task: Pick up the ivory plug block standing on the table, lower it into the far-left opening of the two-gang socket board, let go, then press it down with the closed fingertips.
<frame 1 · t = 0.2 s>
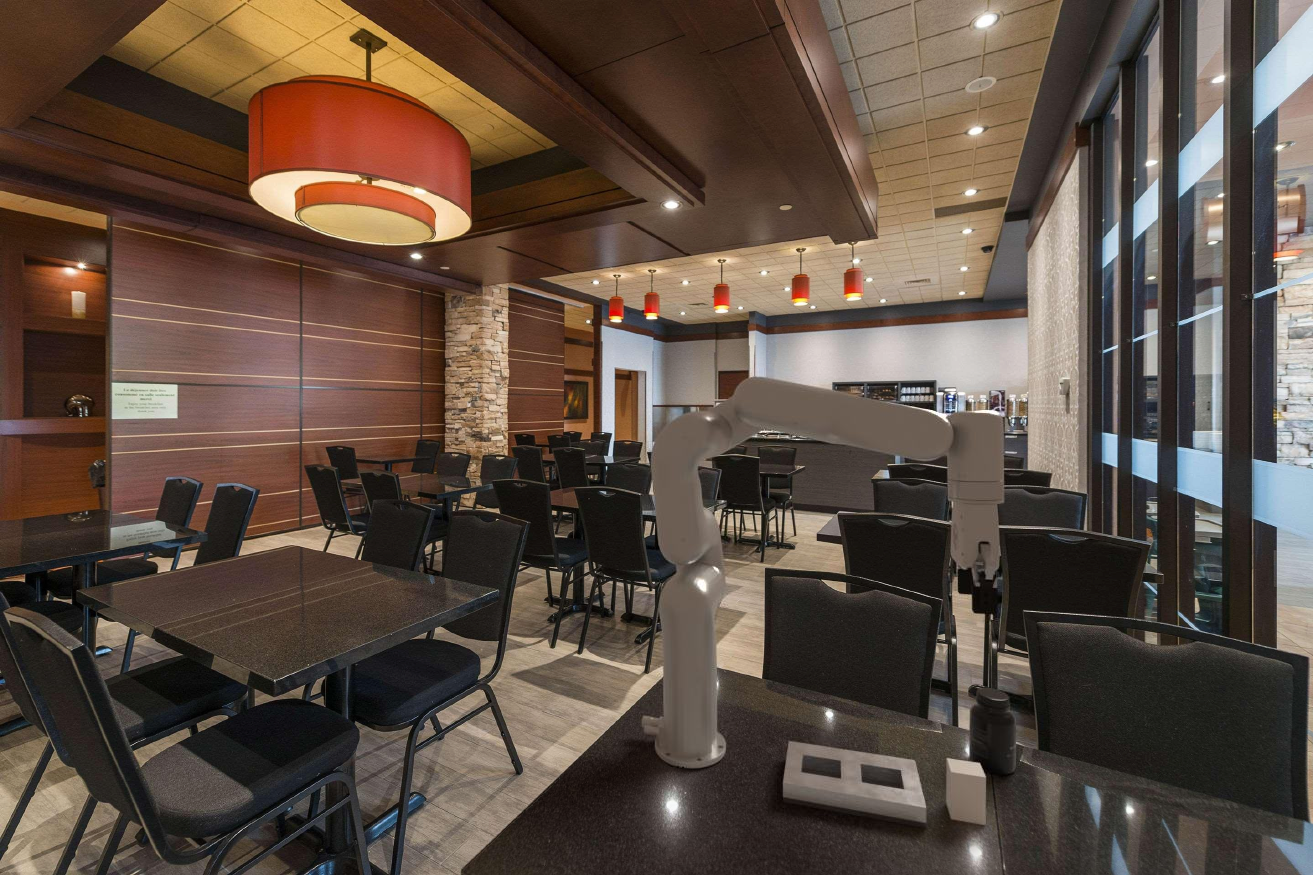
hand: (976, 603, 88), 30 cm above the table, tool pointing down, fingers open, 9 cm apart
socket board: (850, 789, 91), on the table
supplement bottle: (992, 764, 97), on the table
plug: (965, 813, 85), on the table
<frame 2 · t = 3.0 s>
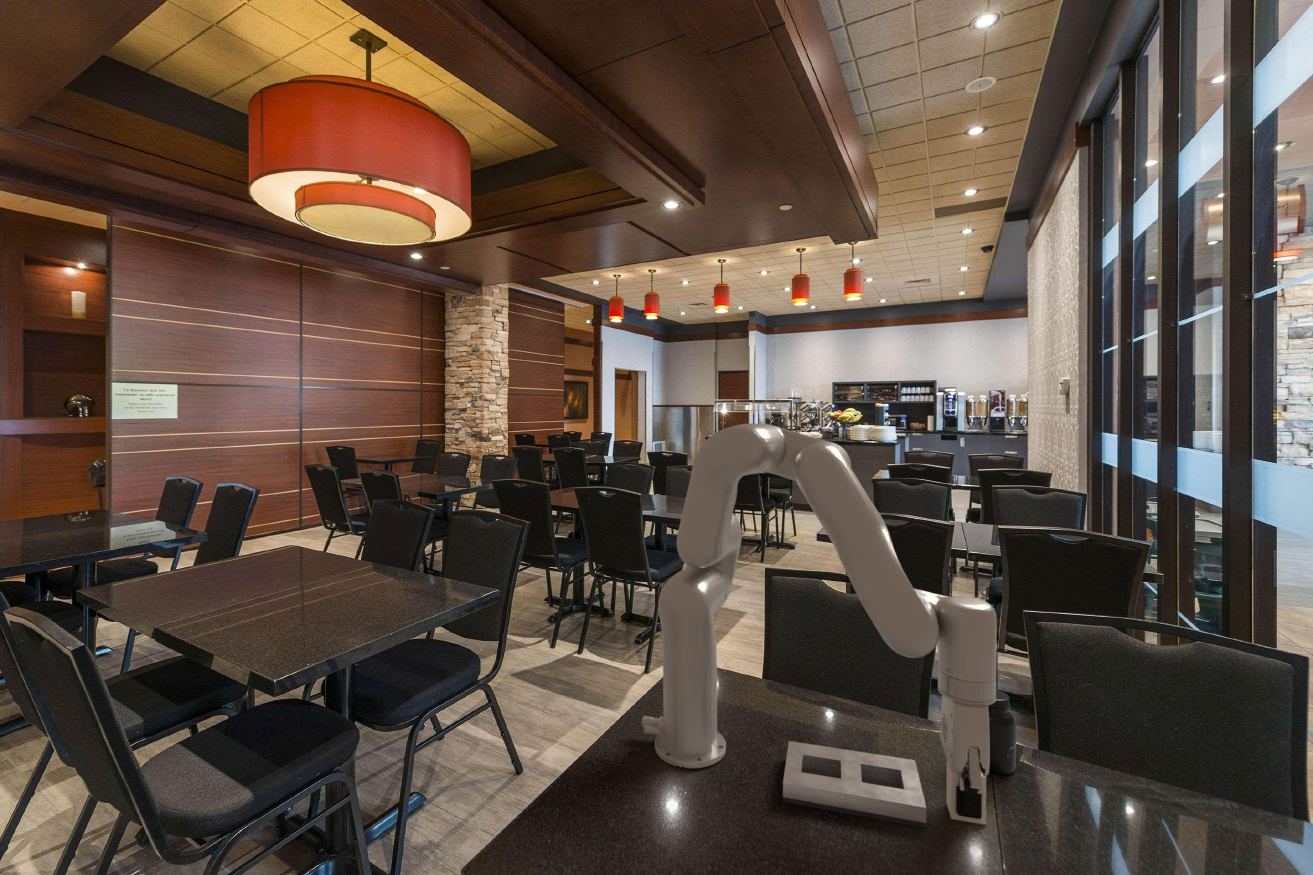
hand: (965, 805, 85), 1 cm above the table, tool pointing down, fingers closed on plug, 3 cm apart
plug: (965, 813, 85), on the table, touching gripper
everything else where it was.
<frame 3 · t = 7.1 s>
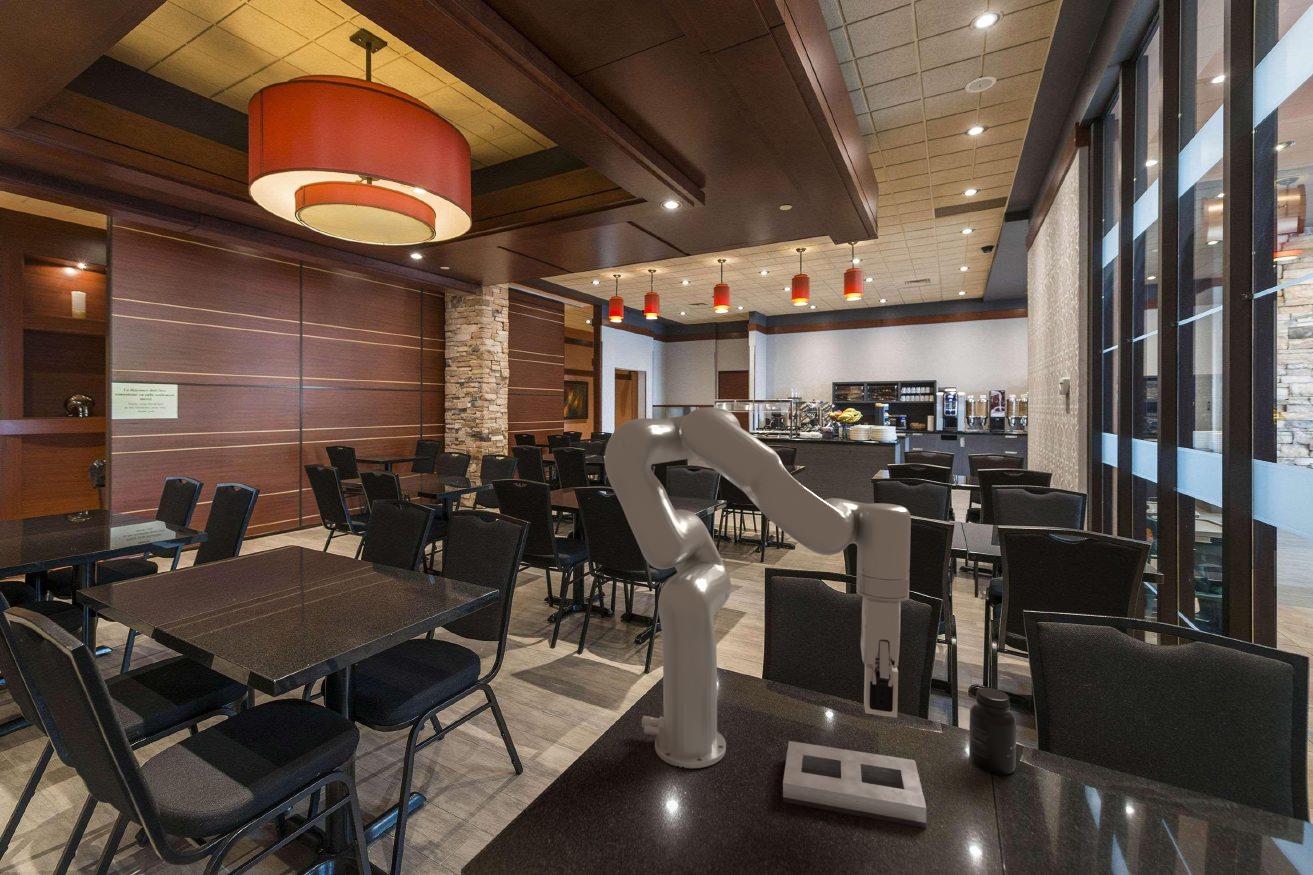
hand: (879, 701, 89), 15 cm above the table, tool pointing down, fingers closed on plug, 3 cm apart
plug: (880, 709, 89), point 14 cm above the table, touching gripper
everything else where it was.
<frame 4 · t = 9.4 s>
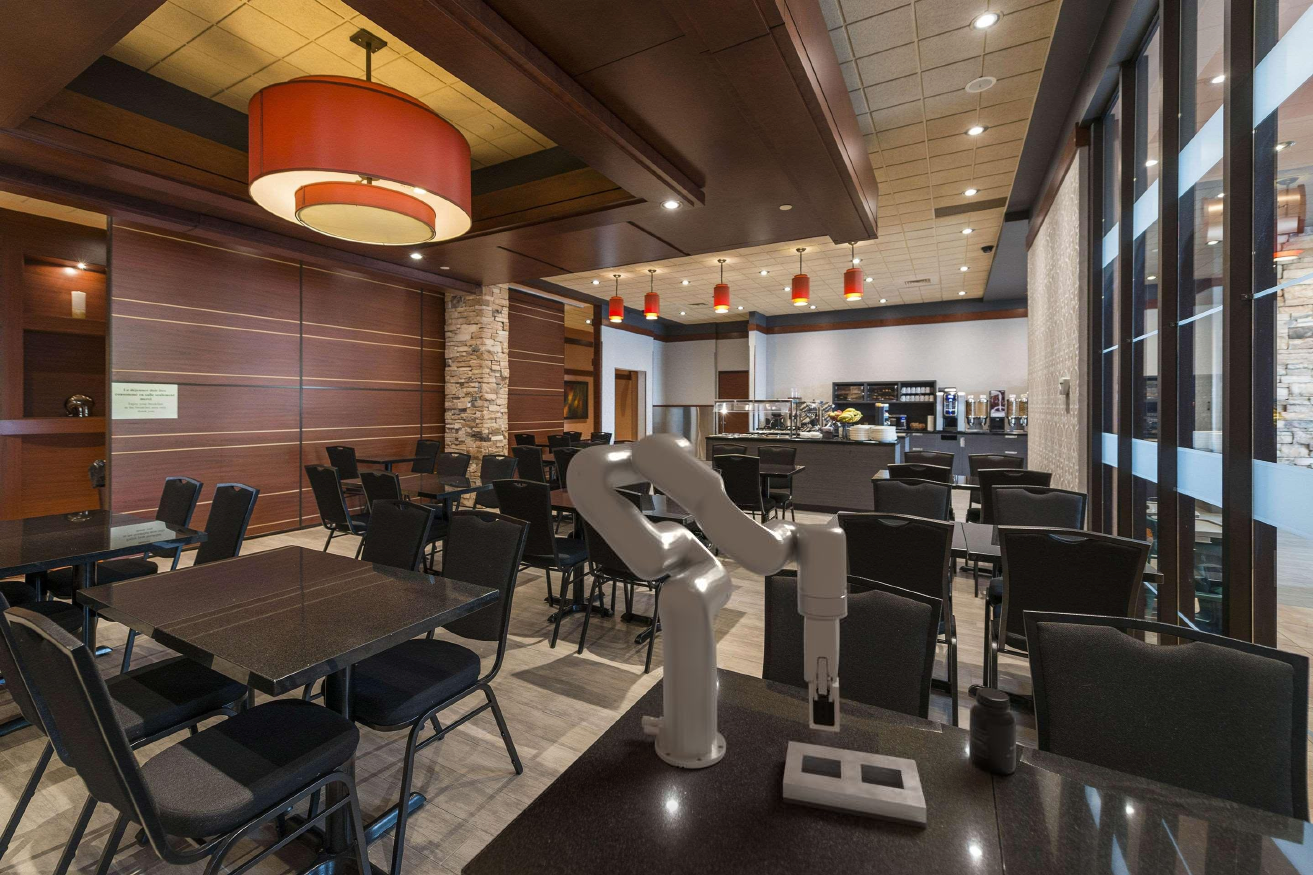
hand: (824, 716, 91), 11 cm above the table, tool pointing down, fingers closed on plug, 3 cm apart
plug: (824, 723, 91), point 10 cm above the table, touching gripper
everything else where it was.
when the fingers open (3 cm above the table, at t = 11.3 s): plug drops 1 cm, resting on socket board.
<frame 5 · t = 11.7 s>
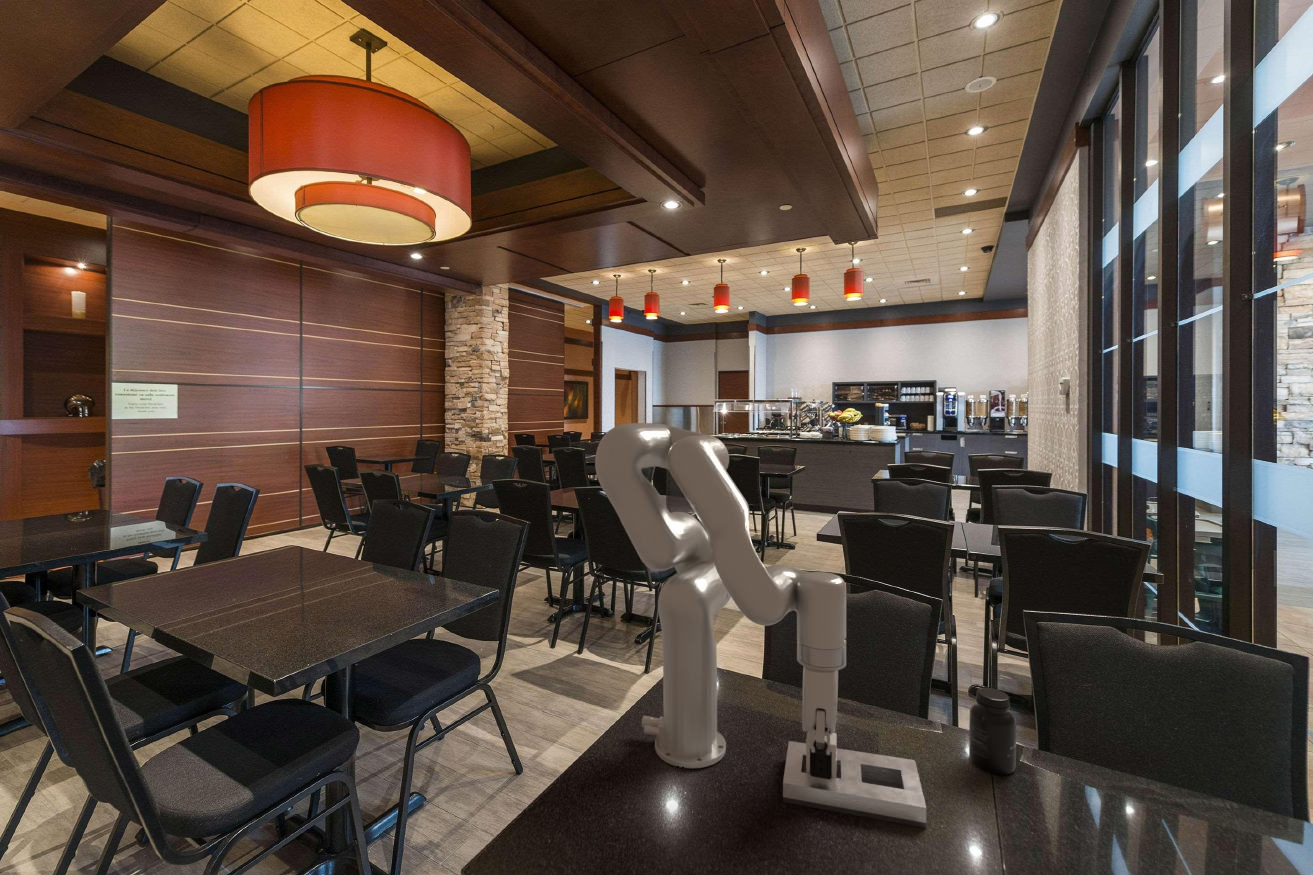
hand: (821, 760, 92), 4 cm above the table, tool pointing down, fingers open, 7 cm apart
plug: (821, 779, 92), point 1 cm above the table, touching socket board
everything else where it was.
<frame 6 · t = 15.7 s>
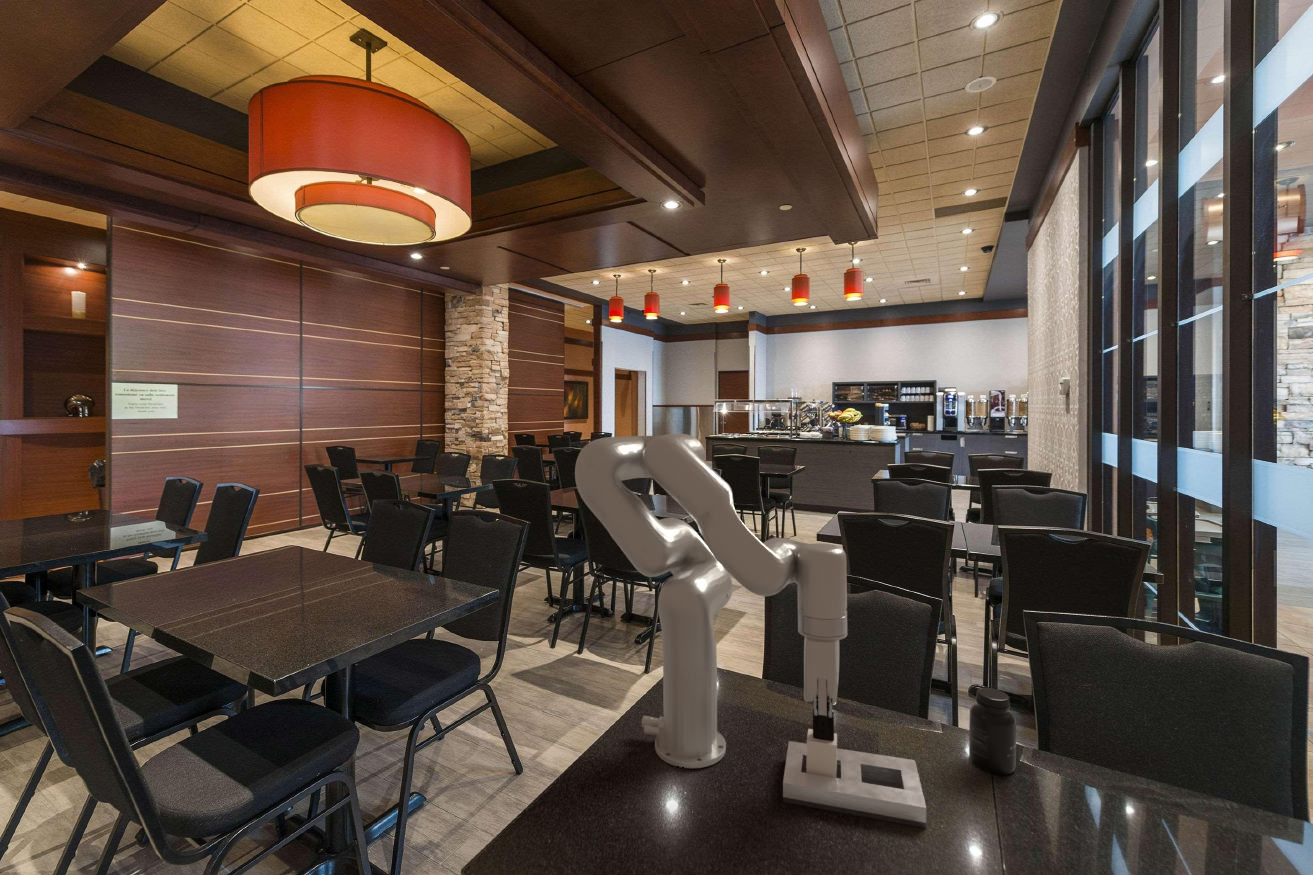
hand: (823, 737, 92), 8 cm above the table, tool pointing down, fingers closed
plug: (821, 779, 92), point 1 cm above the table, touching gripper, socket board
everything else where it was.
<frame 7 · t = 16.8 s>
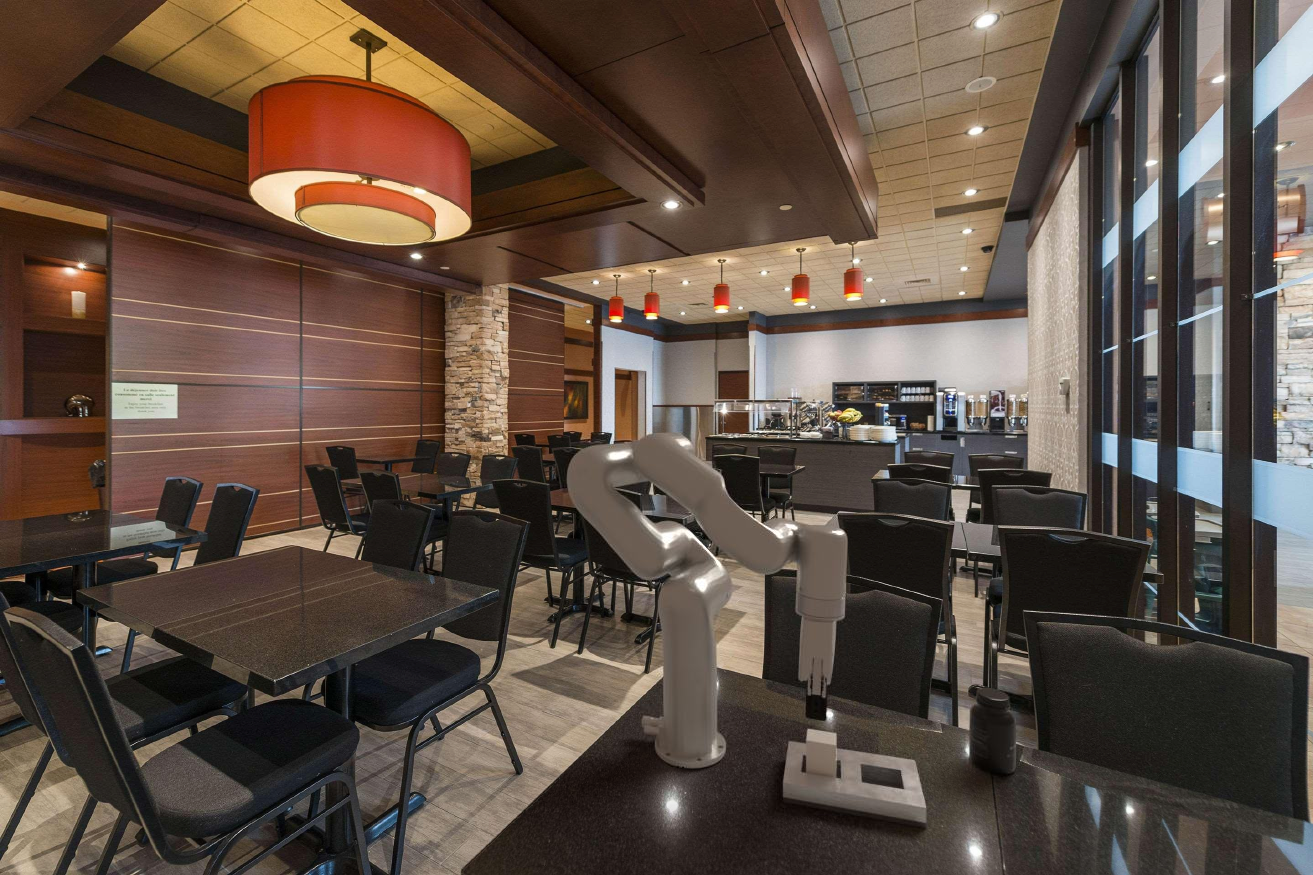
hand: (815, 716, 92), 11 cm above the table, tool pointing down, fingers closed
plug: (821, 779, 92), point 1 cm above the table, touching socket board
everything else where it was.
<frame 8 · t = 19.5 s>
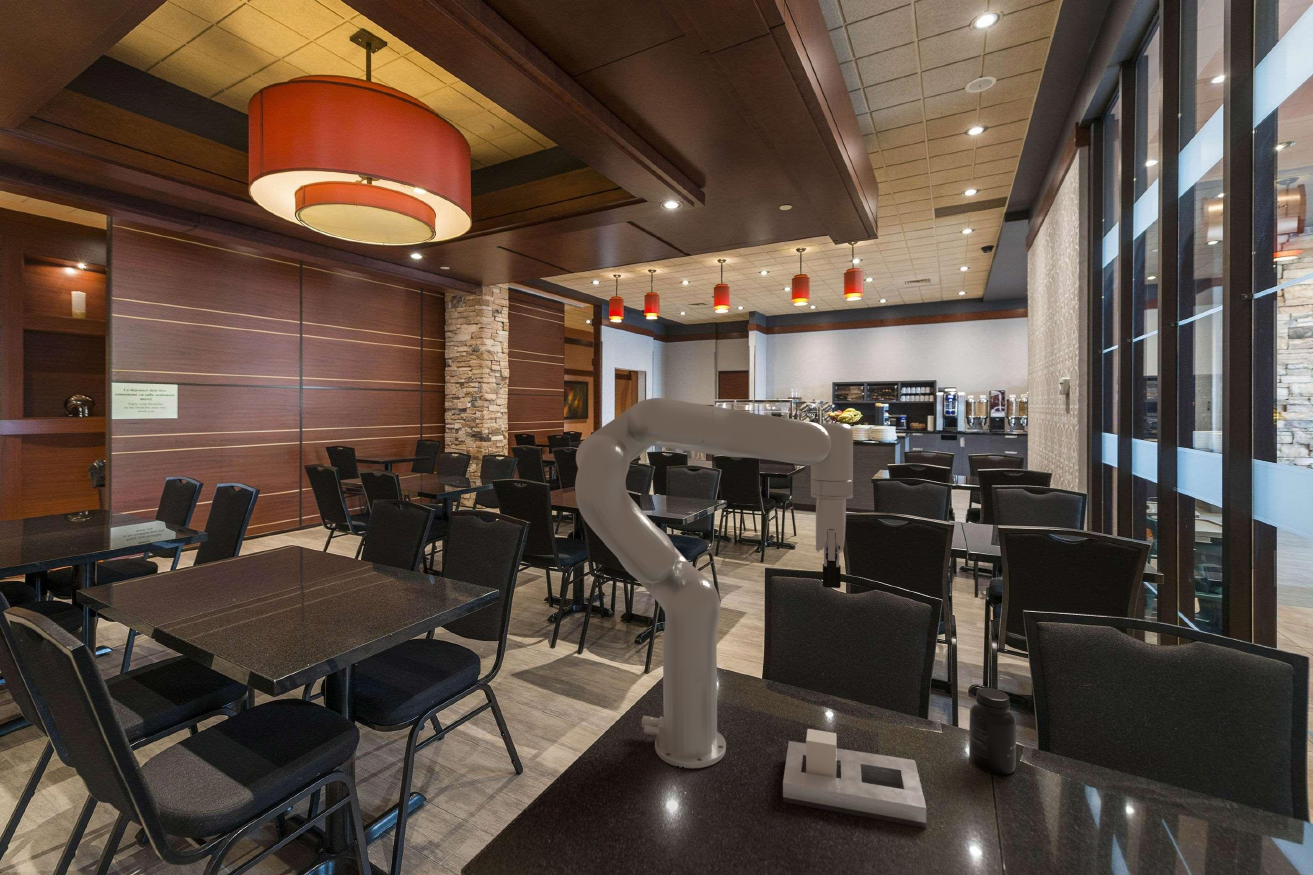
hand: (831, 586, 108), 27 cm above the table, tool pointing down, fingers closed
nothing on the table moved.
at the end: plug 0.0 cm from the target spot on the socket board, point 0.8 cm above the socket board's base; plug tilted 0°; the gripper is holding nothing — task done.
